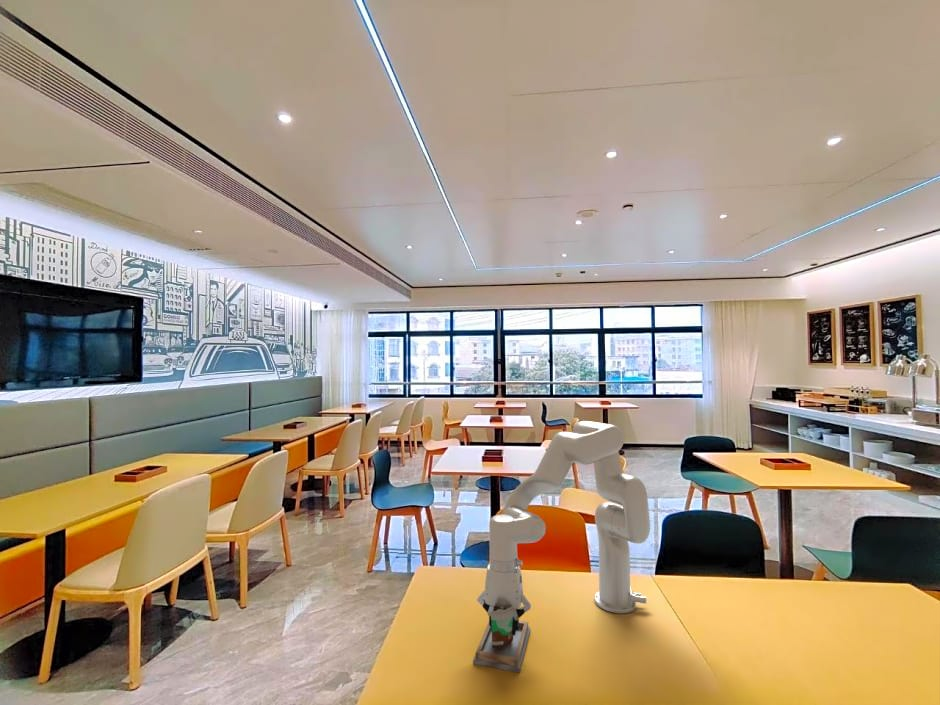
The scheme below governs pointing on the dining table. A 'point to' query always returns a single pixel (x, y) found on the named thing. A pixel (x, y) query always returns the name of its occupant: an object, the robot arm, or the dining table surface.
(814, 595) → the dining table surface
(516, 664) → the board
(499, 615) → the food container
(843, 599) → the dining table surface
